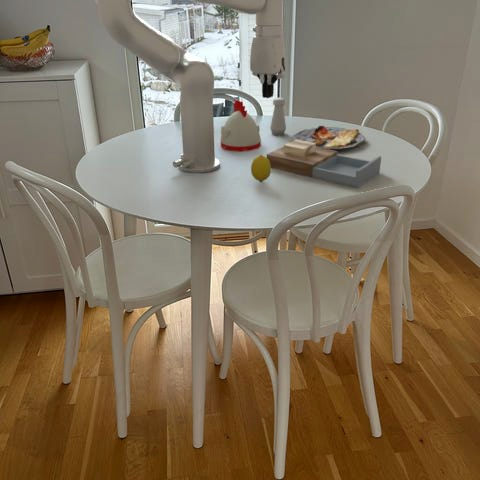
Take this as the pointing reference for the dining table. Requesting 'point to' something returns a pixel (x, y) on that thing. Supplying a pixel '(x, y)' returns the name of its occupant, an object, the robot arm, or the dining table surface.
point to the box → (347, 170)
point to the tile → (299, 148)
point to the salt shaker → (278, 117)
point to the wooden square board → (299, 161)
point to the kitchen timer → (240, 131)
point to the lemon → (261, 168)
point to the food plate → (330, 137)
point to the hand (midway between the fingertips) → (267, 97)
